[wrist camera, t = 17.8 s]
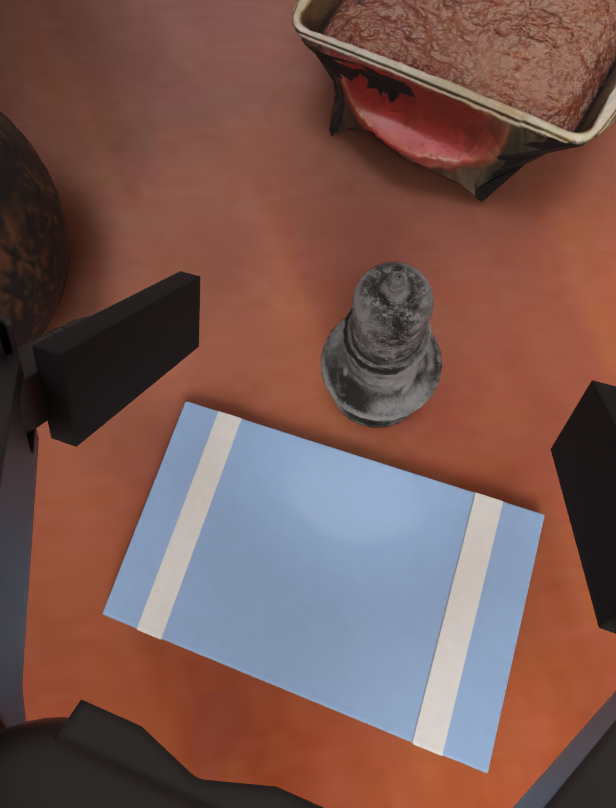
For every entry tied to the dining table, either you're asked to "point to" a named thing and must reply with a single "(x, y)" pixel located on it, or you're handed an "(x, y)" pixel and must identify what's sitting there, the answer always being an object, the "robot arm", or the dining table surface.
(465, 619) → the cloth
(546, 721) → the dining table surface
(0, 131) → the glass bottle
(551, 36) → the baking dish
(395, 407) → the salt shaker
